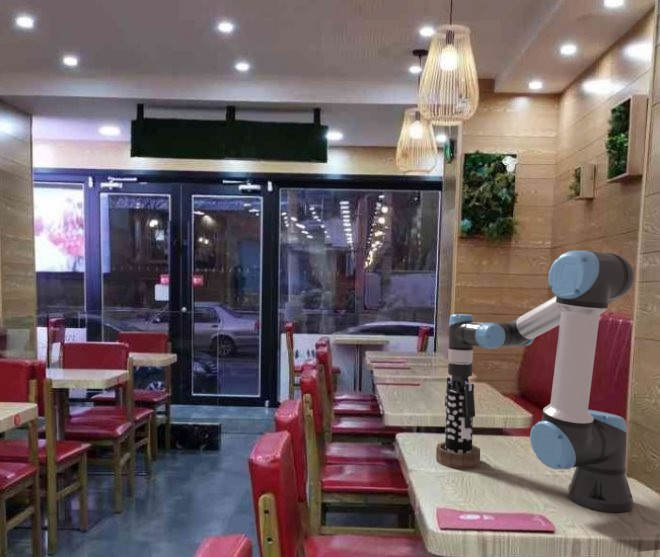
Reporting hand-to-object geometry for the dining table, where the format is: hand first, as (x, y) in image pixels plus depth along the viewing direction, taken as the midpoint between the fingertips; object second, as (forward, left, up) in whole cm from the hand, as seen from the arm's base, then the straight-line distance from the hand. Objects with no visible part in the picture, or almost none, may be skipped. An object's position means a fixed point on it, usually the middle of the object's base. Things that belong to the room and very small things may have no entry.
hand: (458, 434), depth 170 cm
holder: (0, 0, -9) cm, 9 cm away
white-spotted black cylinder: (0, 0, -7) cm, 7 cm away
